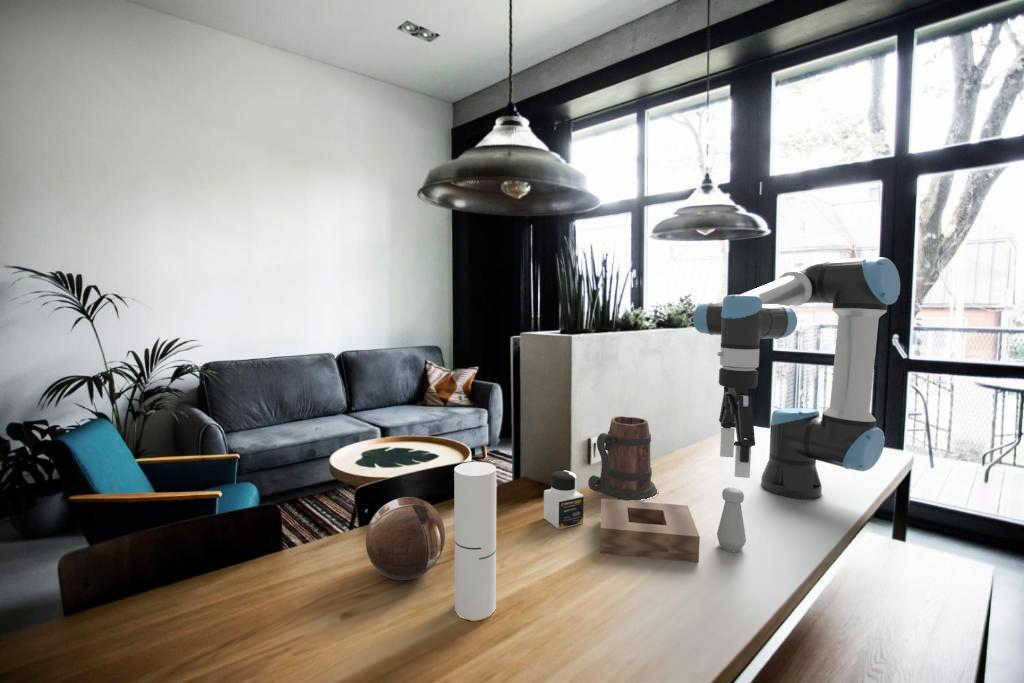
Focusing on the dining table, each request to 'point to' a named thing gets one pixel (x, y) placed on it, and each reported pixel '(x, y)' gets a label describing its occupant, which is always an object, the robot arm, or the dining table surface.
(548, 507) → the medicine bottle
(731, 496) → the salt shaker
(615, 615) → the dining table surface
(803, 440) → the robot arm
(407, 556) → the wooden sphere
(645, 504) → the walnut socket block
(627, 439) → the tankard
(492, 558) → the cylindrical container
